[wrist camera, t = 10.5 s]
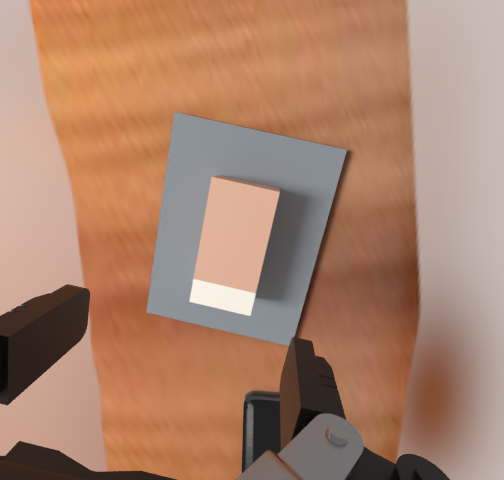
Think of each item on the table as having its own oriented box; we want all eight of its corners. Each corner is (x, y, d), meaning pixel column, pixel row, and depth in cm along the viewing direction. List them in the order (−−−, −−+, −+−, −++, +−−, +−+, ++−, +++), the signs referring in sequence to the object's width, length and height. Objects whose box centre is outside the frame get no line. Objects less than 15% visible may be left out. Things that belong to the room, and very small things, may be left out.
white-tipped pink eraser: (220, 174, 25) (211, 176, 22) (279, 188, 25) (279, 192, 22) (199, 285, 28) (189, 301, 24) (253, 297, 28) (250, 316, 24)
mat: (291, 342, 29) (291, 346, 29) (149, 309, 30) (146, 312, 29) (345, 150, 25) (347, 149, 24) (176, 113, 25) (174, 112, 24)
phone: (240, 510, 34) (243, 395, 30) (241, 499, 35) (245, 386, 31) (313, 518, 33) (325, 402, 30) (311, 507, 34) (323, 393, 31)
